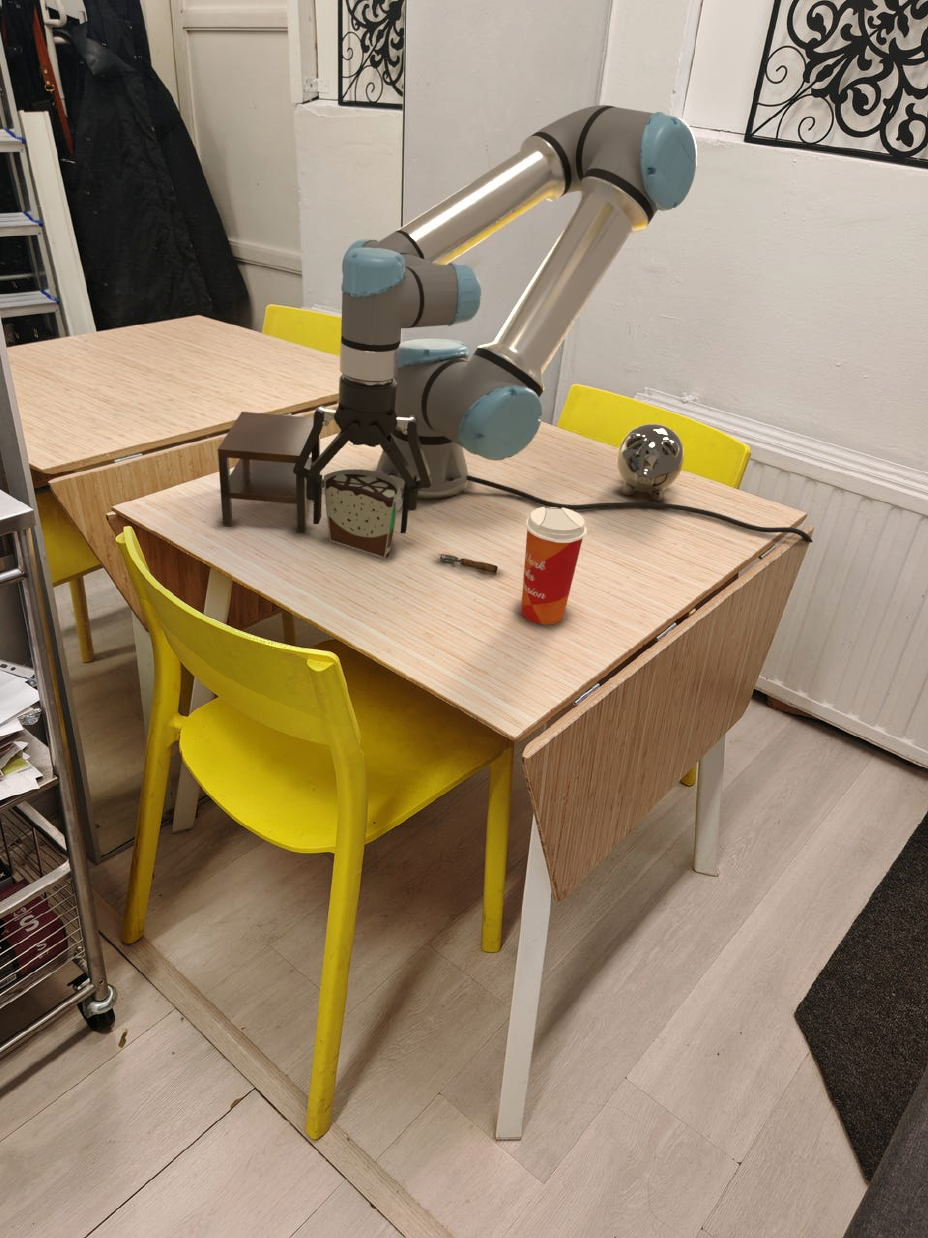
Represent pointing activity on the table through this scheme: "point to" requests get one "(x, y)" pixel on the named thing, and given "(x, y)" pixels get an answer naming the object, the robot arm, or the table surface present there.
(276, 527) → the table surface
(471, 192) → the robot arm
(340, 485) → the food container
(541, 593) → the paper cup
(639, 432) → the piggy bank
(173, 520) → the table surface
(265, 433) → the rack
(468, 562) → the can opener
